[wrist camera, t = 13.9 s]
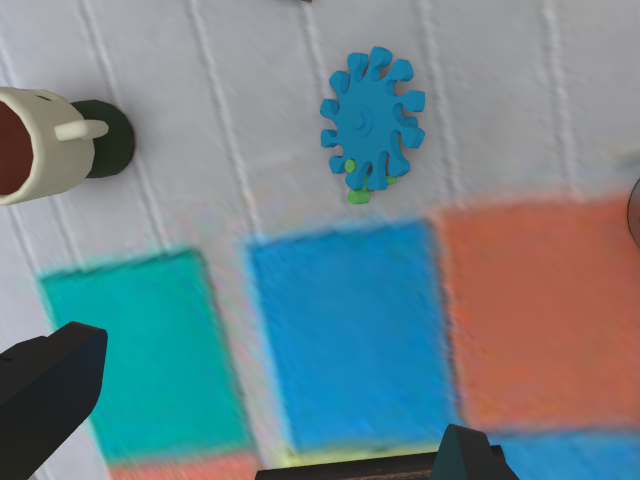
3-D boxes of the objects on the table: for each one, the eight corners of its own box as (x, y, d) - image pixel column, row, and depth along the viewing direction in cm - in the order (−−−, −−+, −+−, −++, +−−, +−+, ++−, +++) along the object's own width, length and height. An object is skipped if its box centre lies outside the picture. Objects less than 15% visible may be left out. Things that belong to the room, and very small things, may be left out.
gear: (326, 36, 36) (429, 57, 29) (383, 47, 39) (486, 67, 33) (302, 180, 40) (386, 227, 33) (355, 177, 44) (441, 220, 37)
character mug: (149, 80, 40) (45, 62, 27) (173, 167, 41) (85, 188, 28) (30, 110, 41) (-120, 106, 29) (58, 193, 43) (-73, 223, 30)
